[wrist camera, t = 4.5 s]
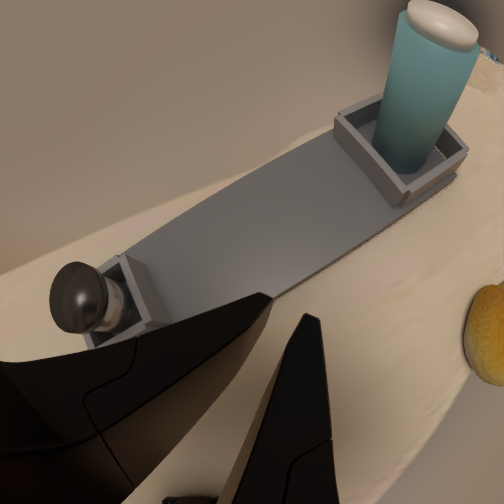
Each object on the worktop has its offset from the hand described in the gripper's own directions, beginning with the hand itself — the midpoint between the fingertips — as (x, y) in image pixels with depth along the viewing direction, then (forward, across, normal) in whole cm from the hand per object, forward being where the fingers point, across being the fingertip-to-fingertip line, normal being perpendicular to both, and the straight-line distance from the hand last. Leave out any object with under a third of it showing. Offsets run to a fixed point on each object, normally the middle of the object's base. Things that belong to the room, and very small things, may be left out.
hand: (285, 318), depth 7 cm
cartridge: (+20, -2, -3) cm, 20 cm away
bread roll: (+14, -16, +5) cm, 22 cm away
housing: (+14, +5, +5) cm, 15 cm away
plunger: (+6, +12, +11) cm, 17 cm away
